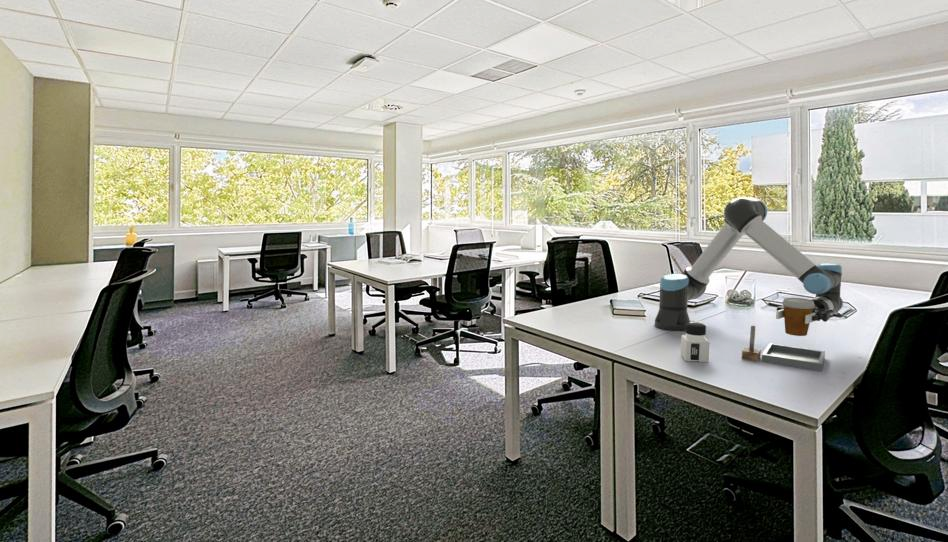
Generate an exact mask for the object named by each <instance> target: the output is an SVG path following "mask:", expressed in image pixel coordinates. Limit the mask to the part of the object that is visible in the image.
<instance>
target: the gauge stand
mask: <svg viewBox="0 0 948 542" xmlns="http://www.w3.org/2000/svg"><path fill="white" fill-rule="evenodd" d="M749 333H750V334H749V336H750V337H749V347H744V348H743V350H742V351H741V360H745V361H752V362H756V361H757V362H759V361H760V359H761V349H757V348H755V341H756V340H755V338H756V325H754V324H753V325H750V332H749Z"/></svg>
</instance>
